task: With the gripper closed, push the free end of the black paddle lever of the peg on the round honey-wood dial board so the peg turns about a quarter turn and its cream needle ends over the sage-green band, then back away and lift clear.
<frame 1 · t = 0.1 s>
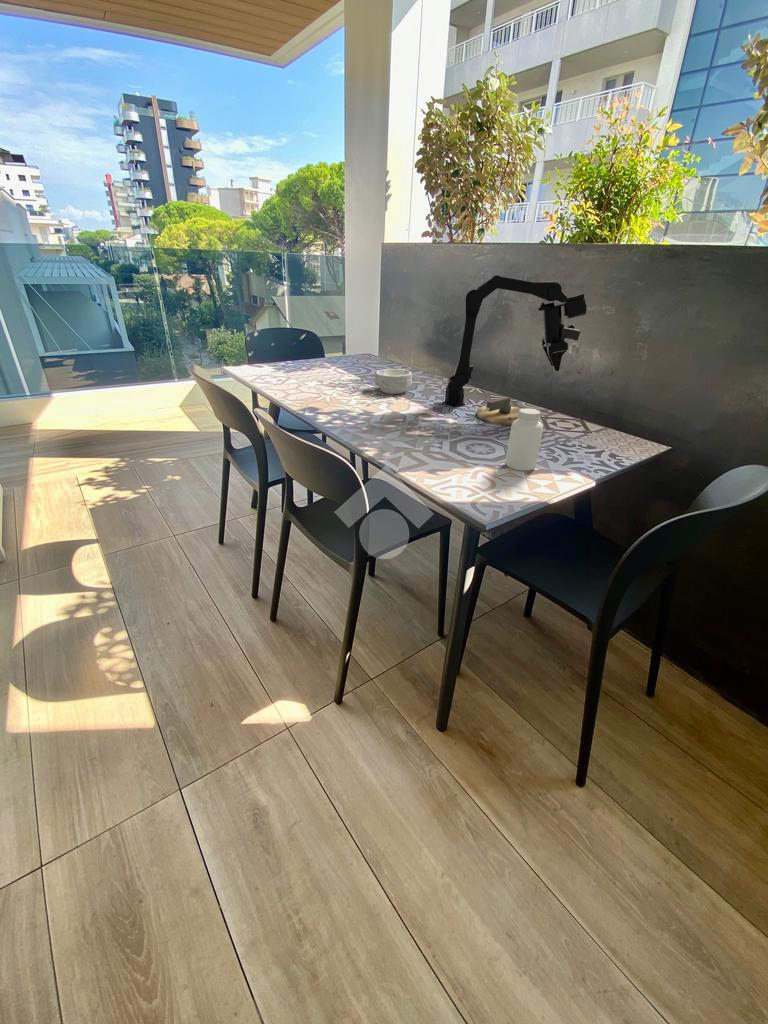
hand: (555, 368, 161), 15 cm above the table, tool pointing down, fingers open, 9 cm apart
pill bottle: (519, 466, 121), on the table
white stone bowl: (392, 391, 187), on the table
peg: (495, 407, 154), point 4 cm above the table, hinge at 0.0°
dial board: (503, 416, 160), on the table
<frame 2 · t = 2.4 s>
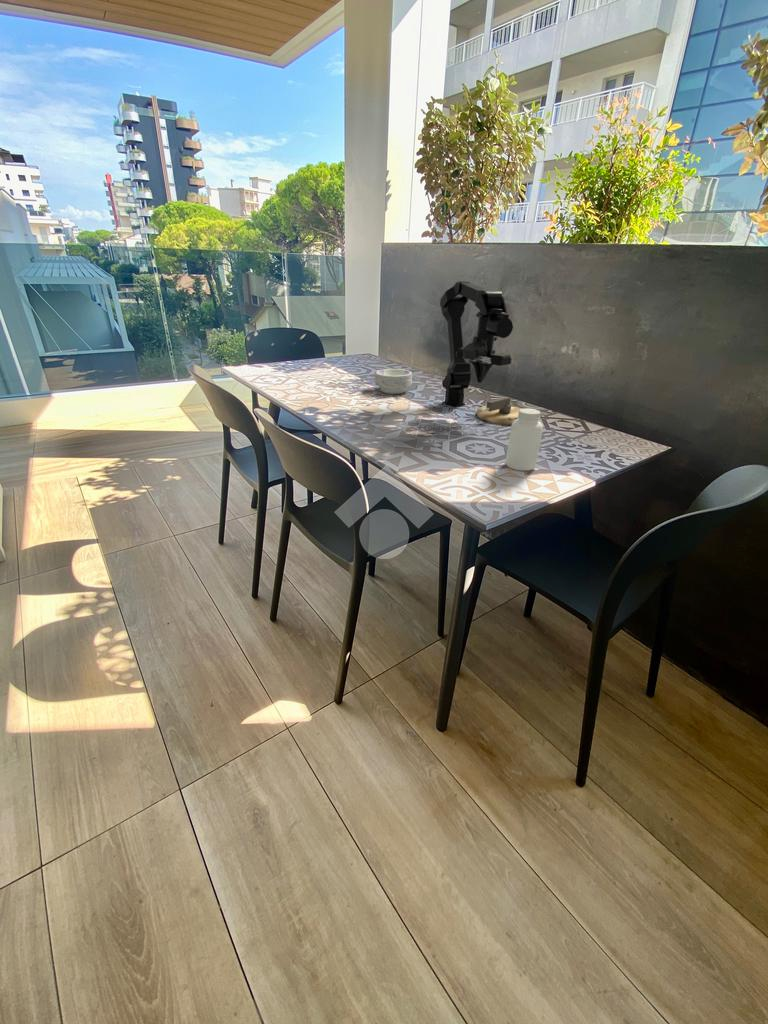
hand: (479, 382, 153), 12 cm above the table, tool pointing down, fingers closed
nothing on the table moved.
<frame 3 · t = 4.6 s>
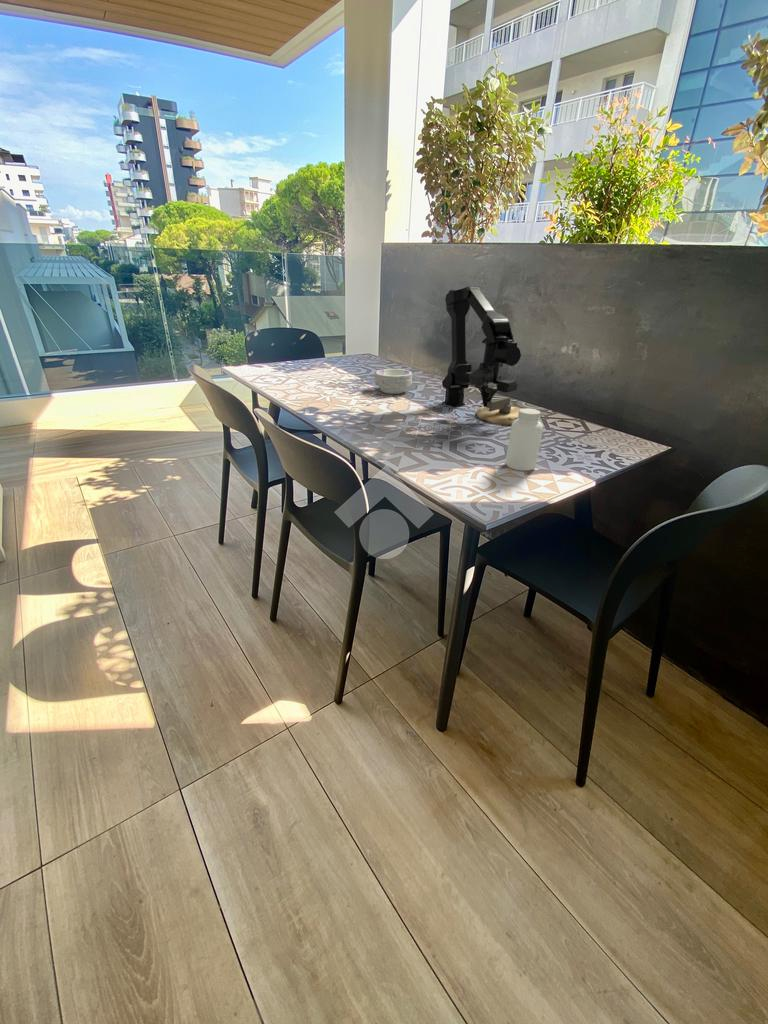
hand: (485, 407, 154), 4 cm above the table, tool pointing down, fingers closed
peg: (496, 407, 154), point 4 cm above the table, hinge at 0.2°, touching gripper
everything else where it was.
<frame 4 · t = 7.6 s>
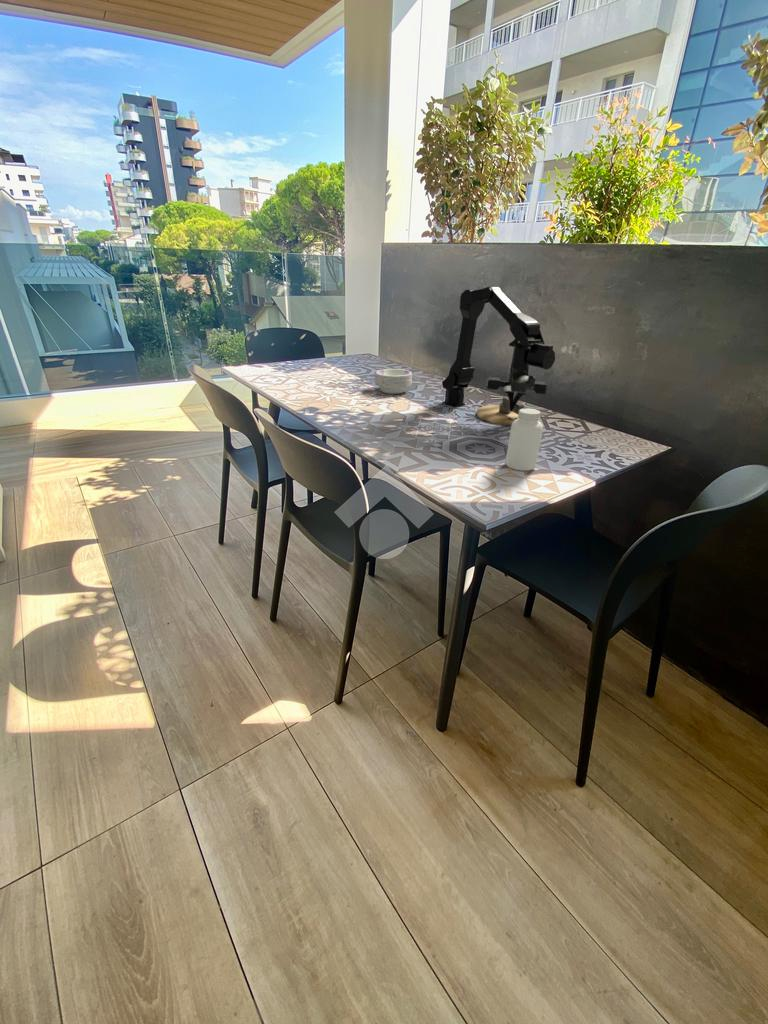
hand: (510, 411, 150), 4 cm above the table, tool pointing down, fingers closed
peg: (513, 409, 153), point 4 cm above the table, hinge at 64.9°, touching gripper
everything else where it was.
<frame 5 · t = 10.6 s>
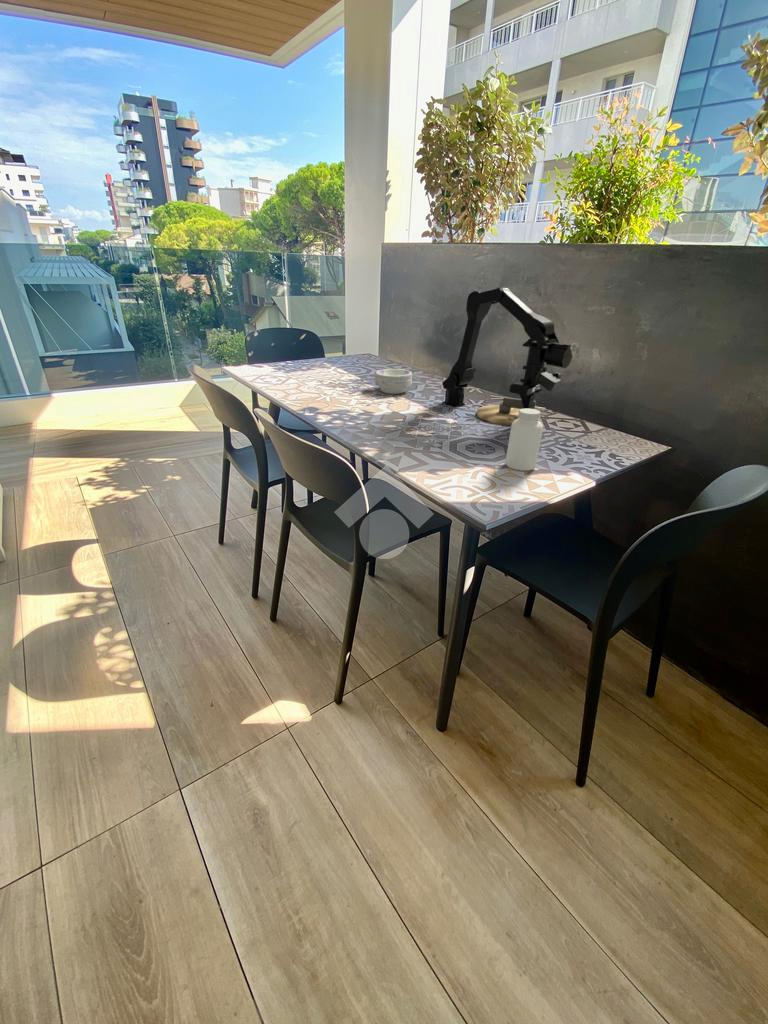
hand: (526, 411, 151), 5 cm above the table, tool pointing down, fingers closed
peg: (522, 406, 156), point 4 cm above the table, hinge at 116.5°
everything else where it was.
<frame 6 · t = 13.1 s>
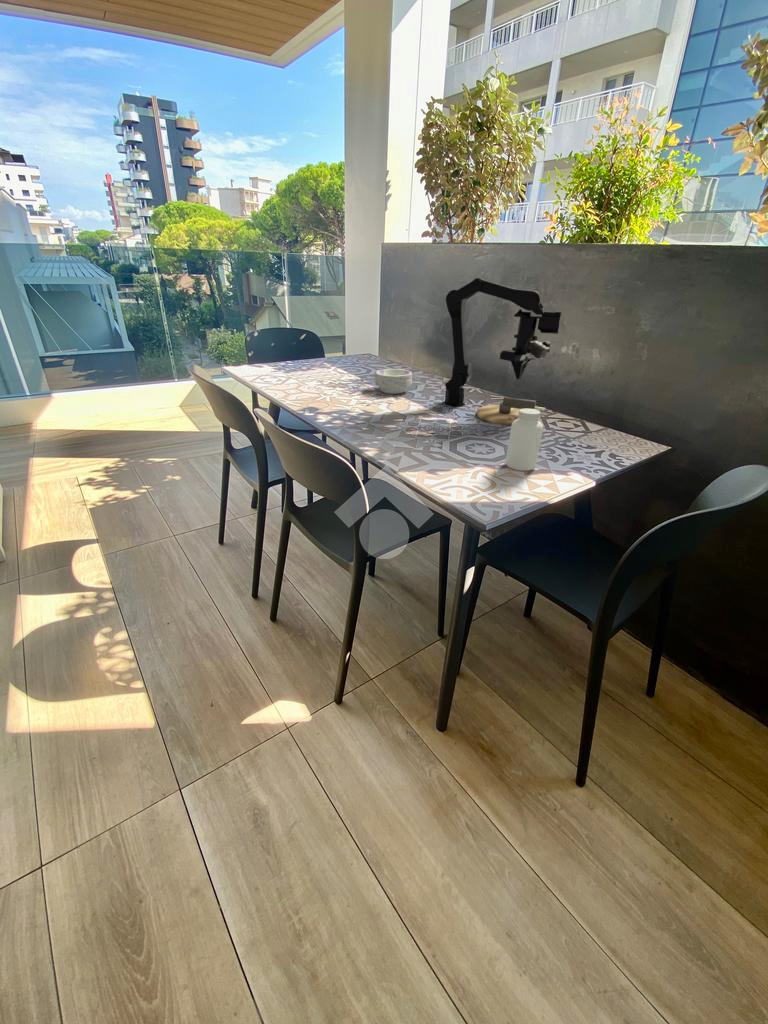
hand: (518, 378, 159), 12 cm above the table, tool pointing down, fingers closed
nothing on the table moved.
at the end: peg at +116° (first picture: +0°) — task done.
